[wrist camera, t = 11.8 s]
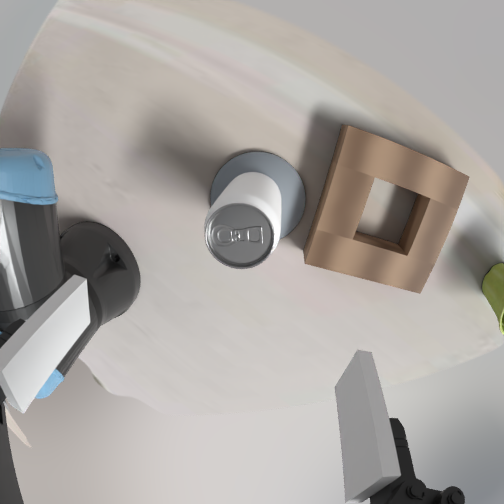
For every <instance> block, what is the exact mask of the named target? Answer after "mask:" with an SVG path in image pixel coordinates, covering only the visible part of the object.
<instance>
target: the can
mask: <svg viewBox="0 0 504 504" xmlns="http://www.w3.org/2000/svg"><path fill="white" fill-rule="evenodd" d="M280 231H281V193H280V190H279V188H278V186H277V184H276V183H275V182H274V181H273V180H272V179H271V178H270V177H268V176H267V175H264V174H262V173H258V172H247V173H243V174H241V175H239V176H237V177H236V178H234V179H233V180H232V181H231V182H230V184H229V185H228V186H227V187H226V188H225V190H224V191H223V192H222V193H221V195H220V196H219V197H218V199H217V200H216V201H215V202H214V204H213V205H212V207H211V208H210V210H209V212H208V214H207V216H206V220H205V241H206V245H207V247H208V249H209V251H210V253H211V254H212V255H213V256H214V258H215V259H217V260H218V261H219V262H220V263H222V264H224V265H226V266H228V267H231V268H236V269H247V268H252V267H255V266H257V265H259V264H261V263H262V262H263V261H265V260H266V259H267V258H268V256H269V255H270V254H271V253H272V252H273V251H274V249H275V248H276V246H277V244H278V241H279V238H280Z"/></svg>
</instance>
